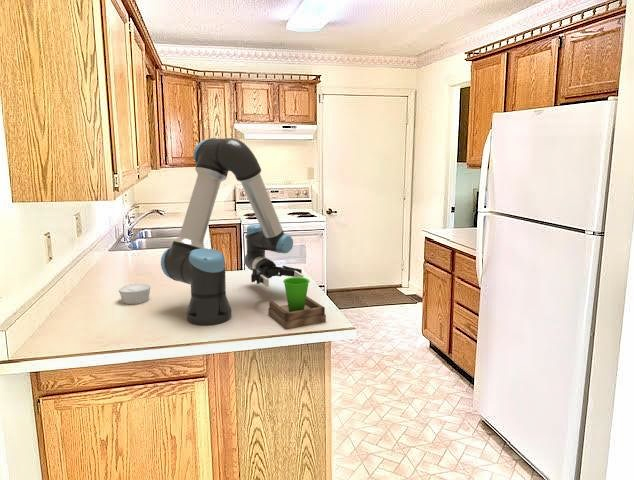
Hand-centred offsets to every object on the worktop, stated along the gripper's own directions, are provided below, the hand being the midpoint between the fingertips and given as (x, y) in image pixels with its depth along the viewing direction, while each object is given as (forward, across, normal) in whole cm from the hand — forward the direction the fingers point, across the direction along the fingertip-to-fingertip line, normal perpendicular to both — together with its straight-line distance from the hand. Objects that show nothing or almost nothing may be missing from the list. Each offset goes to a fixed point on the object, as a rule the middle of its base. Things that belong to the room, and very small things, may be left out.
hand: (285, 280), depth 168 cm
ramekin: (-35, +48, -11) cm, 60 cm away
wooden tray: (+10, 0, -11) cm, 15 cm away
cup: (+10, 0, -9) cm, 13 cm away
